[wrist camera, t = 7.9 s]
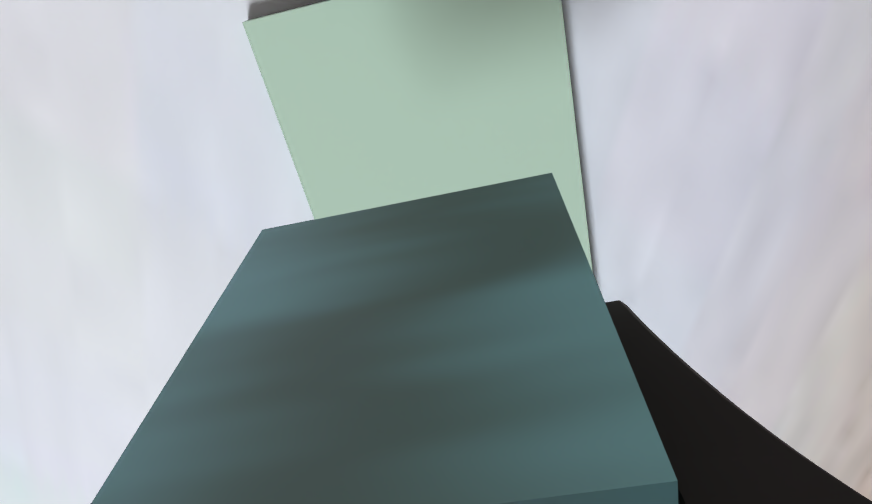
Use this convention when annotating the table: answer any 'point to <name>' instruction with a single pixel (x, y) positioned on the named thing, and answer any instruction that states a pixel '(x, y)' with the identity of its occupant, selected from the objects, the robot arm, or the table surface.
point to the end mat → (421, 99)
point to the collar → (406, 369)
